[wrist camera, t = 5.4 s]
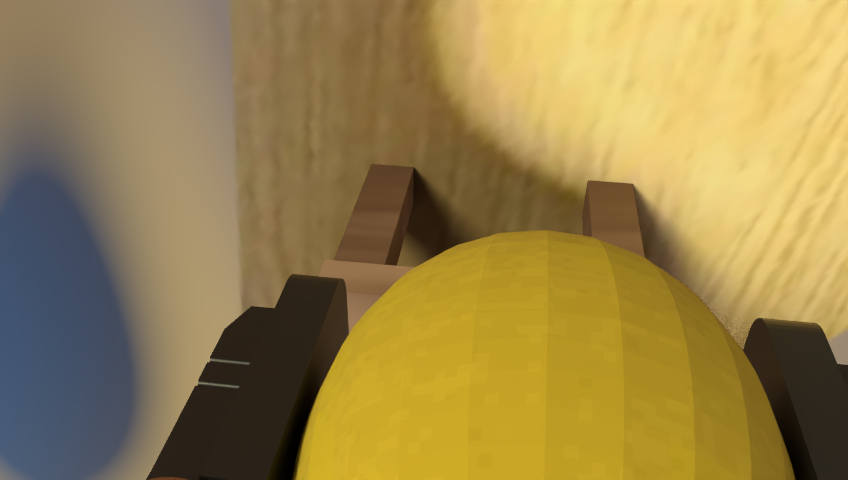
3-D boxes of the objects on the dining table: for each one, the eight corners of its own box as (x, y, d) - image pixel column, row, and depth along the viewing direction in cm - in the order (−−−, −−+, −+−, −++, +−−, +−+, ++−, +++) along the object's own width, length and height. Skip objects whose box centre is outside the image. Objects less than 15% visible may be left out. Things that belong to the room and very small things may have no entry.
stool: (366, 159, 30) (312, 289, 23) (638, 179, 28) (665, 321, 22) (372, 358, 35) (331, 508, 29) (601, 381, 34) (612, 542, 28)
